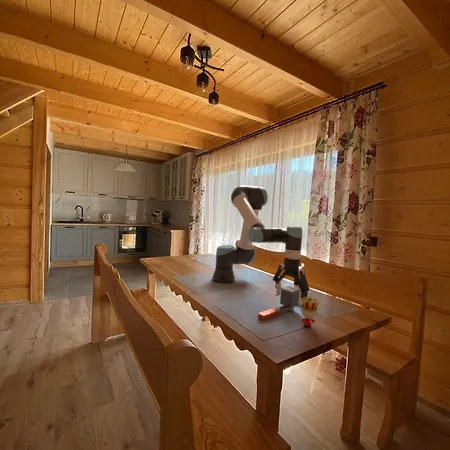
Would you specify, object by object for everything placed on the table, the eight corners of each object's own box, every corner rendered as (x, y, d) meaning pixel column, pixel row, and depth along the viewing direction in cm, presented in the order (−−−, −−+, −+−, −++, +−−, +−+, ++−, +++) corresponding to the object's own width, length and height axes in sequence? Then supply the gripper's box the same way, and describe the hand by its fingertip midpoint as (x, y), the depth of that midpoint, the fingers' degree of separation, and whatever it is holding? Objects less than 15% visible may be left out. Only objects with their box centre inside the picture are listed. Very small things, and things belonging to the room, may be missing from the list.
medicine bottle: (295, 302, 140) (297, 280, 139) (289, 297, 147) (290, 277, 146) (307, 301, 142) (309, 280, 141) (300, 297, 149) (301, 276, 148)
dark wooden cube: (287, 301, 133) (288, 286, 132) (298, 305, 128) (299, 289, 128) (279, 303, 129) (281, 288, 128) (290, 308, 124) (291, 291, 123)
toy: (312, 323, 115) (315, 290, 114) (319, 331, 108) (322, 296, 107) (296, 322, 115) (299, 290, 114) (302, 330, 108) (305, 295, 107)
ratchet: (287, 307, 133) (288, 292, 132) (295, 310, 129) (297, 295, 128) (256, 318, 118) (257, 301, 117) (264, 322, 114) (266, 304, 113)
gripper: (267, 253, 134) (264, 293, 136) (310, 264, 115) (306, 310, 117) (277, 252, 139) (274, 290, 141) (319, 262, 120) (315, 306, 122)
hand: (288, 299), depth 129 cm, fingers open, 13 cm apart
